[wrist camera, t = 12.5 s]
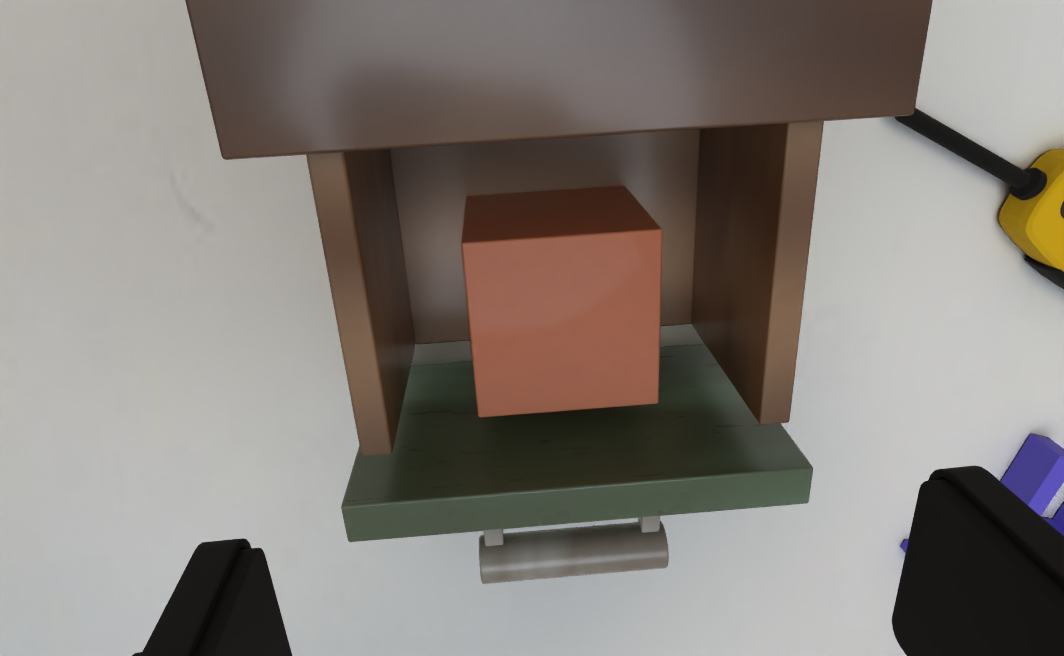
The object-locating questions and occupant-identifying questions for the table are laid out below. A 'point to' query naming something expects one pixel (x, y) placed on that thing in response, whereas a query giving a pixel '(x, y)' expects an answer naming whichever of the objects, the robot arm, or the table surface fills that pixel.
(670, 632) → the table surface
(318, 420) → the table surface
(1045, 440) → the puzzle piece
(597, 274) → the block
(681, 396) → the drawer
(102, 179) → the table surface
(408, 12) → the cabinet
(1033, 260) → the yellow black long piece
